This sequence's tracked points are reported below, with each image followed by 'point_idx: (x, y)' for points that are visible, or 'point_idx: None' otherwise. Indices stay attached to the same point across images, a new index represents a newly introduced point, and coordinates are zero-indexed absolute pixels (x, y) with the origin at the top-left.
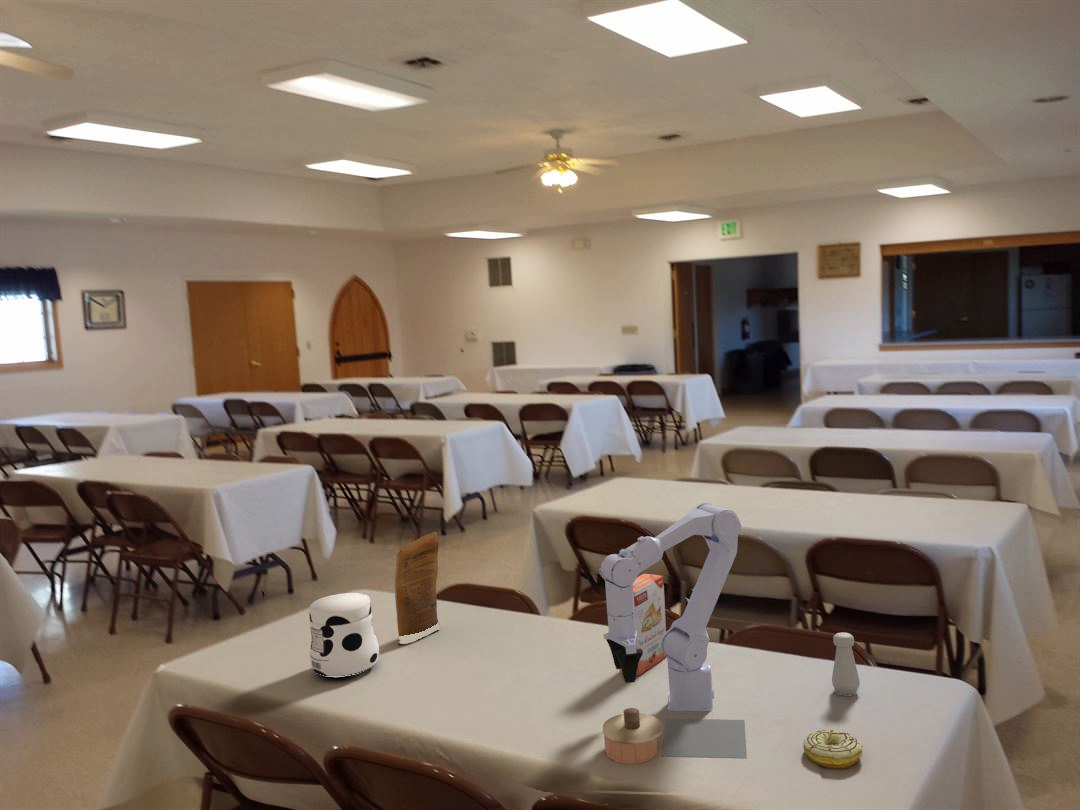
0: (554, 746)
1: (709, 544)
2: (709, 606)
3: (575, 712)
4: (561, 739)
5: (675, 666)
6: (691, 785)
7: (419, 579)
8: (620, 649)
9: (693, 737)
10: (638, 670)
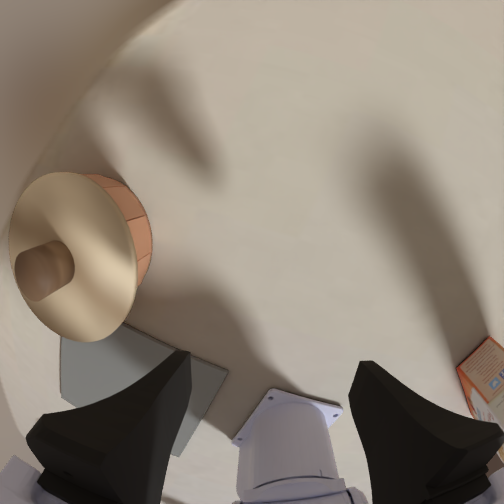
0: (195, 58)
1: None
2: None
3: (380, 165)
4: (226, 79)
5: (277, 490)
6: (6, 294)
7: None
8: (116, 494)
9: (126, 378)
10: (461, 374)
